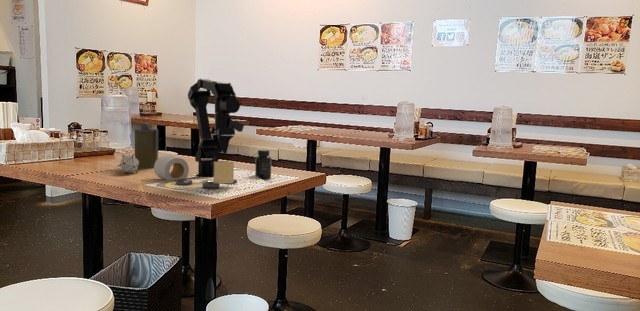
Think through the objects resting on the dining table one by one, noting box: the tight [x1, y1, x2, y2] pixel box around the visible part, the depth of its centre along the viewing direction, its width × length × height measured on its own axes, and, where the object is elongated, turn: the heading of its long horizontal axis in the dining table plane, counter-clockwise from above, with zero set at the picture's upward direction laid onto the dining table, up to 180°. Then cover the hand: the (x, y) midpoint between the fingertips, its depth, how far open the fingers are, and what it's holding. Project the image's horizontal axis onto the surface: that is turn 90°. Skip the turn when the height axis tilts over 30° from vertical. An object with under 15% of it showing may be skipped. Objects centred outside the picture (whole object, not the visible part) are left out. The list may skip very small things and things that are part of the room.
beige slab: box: [202, 160, 235, 190], centre depth 179 cm, size 11×6×10 cm, turn 113°
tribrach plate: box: [175, 178, 238, 186], centre depth 186 cm, size 18×20×2 cm
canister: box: [133, 122, 159, 169], centre depth 224 cm, size 11×10×20 cm
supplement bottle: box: [254, 149, 272, 180], centre depth 210 cm, size 7×7×12 cm
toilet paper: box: [153, 154, 190, 181], centre depth 194 cm, size 10×10×10 cm
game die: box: [117, 153, 141, 175], centre depth 207 cm, size 9×8×10 cm
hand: (222, 152), depth 195 cm, fingers open, 9 cm apart
